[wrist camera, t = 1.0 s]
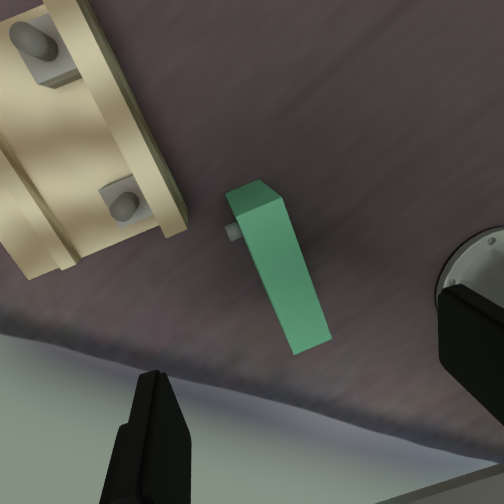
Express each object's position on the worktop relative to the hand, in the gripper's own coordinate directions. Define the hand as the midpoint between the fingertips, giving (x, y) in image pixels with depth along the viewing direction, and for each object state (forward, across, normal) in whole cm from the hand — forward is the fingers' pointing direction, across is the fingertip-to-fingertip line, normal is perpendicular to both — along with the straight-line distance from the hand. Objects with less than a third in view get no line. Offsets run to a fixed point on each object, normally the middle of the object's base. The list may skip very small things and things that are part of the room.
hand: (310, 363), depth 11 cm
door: (+20, -2, +4) cm, 21 cm away
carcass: (+20, +12, -8) cm, 25 cm away
